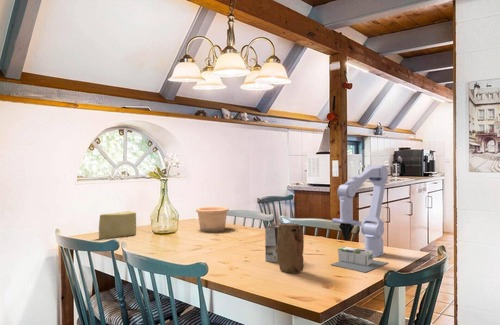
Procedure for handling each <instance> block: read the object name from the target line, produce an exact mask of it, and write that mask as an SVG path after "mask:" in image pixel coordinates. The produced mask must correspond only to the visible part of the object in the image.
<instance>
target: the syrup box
mask: <svg viewBox="0 0 500 325" xmlns="http://www.w3.org/2000/svg"><path fill="white" fill-rule="evenodd" d="M337 255H338V256H337V257H338V262H339V261H344V262H349V263H355V264H361V265H367V266H368V265H370V264H372V263H373V260H374V257H373V251H370V250H365V249H363V248H355V247H351V246H350V247H349V246H341V247H338V249H337Z"/></svg>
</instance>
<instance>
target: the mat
mask: <svg viewBox="0 0 500 325" xmlns="http://www.w3.org/2000/svg"><path fill="white" fill-rule="evenodd" d="M388 264H389V263H388V262H386V261H385V262H384V261H380V260H375V259H373V263H372V264H370V265H368V266H367V265H361V264H355V263H349V262H344V261H339V260H338V261H337V262H333V263H332V264H331V263H330V266H332V267H333V266H334V267H338V268H341V269H347V270H352V271H356V272H360V273H364V274H366V273H369V272H370V271H373V270H375V269H378V268H381V267H383V266H385V265H388Z"/></svg>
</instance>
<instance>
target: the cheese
mask: <svg viewBox="0 0 500 325" xmlns="http://www.w3.org/2000/svg"><path fill="white" fill-rule="evenodd" d="M136 235H137V212H135V211H132V210H129V211H120V212H113V213H112V212H111V213H102V214H100V215H99V222H98V239H99V240H104V239H105V240H106V239H113V238H114V239H115V238H120V237H122V238H123V237H131V236H136Z"/></svg>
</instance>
